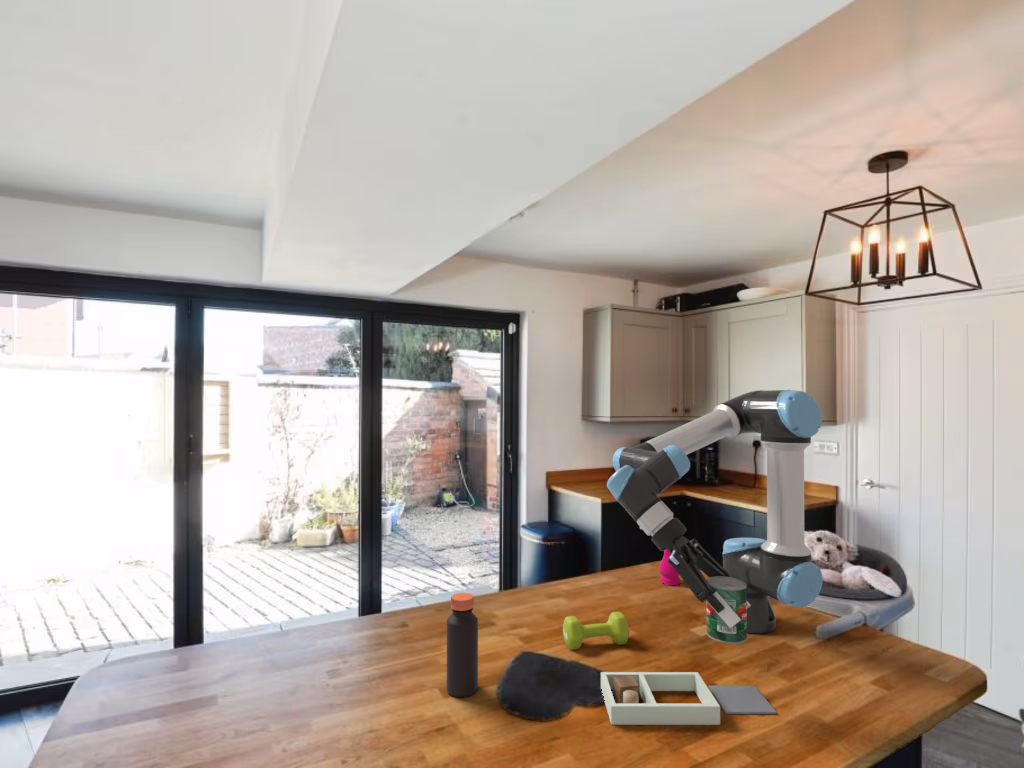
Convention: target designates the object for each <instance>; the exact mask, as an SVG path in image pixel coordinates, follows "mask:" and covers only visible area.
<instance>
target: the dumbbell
mask: <svg viewBox="0 0 1024 768" xmlns="http://www.w3.org/2000/svg"><path fill="white" fill-rule="evenodd" d="M608 616H609V617H608V620H607V622H605V623H603V622H601V623H591V624H582V623H581V622H580V620H579V619H578V618H577V617H576V616H574V615H567V616H566V617H565V618H564V620H563V624H562V635H563V640H564V643H565V644H566V646H567V648H568V649H570V650H571V651H574V650H579V649H580V647H581V646H582V644H583V641H584V639H587V638H596V637H605V636H607V637H610V639H611V641H613V642H614V643H615V645H618V646H619V645H625V644H627V642H628V639H629V637H630V629H629V623H628V619H627V617H626V616H625V615H624V614H623V613H622V612H620V611H612V612H611V613H610V614H609V615H608Z"/></svg>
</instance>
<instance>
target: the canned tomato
mask: <svg viewBox="0 0 1024 768" xmlns="http://www.w3.org/2000/svg"><path fill="white" fill-rule="evenodd" d="M705 579H706V580H707V582H708V584H709V585H710V587H711V588H712V590H713V592H714V593H715V592H716V591H717V593H718V594H719V595H720V596H721V597H722V598H723V599H724V601H725V602H726V603H727V604H728V605H729V606H730V607H731V609H732V610H733V611H734V612H735V613H736V614H737V615H738V617H739V618H740V619H741V620H740V621H739V622H738V623H736V624H735V625H734V626H732V627H731V628H729V626H728V625H727V624H726V623H725V622H724V621H723V619H722V618H721V617H720V616H719V615H718V614H717V612H716V611H715V610H714V609H713V608H712V607H711V605H710V604H709V603H708V602H707V601H706V600H705V602H706V603H705V604H706V605H705V607H706V609H705V610H706V611H705V613H706V632H705V633H706V636H708V638H710V639H711V640H714V641H716V642H719V643H722V644H727V645H728V644H729V645H738V644H742V643H743V644H744V643H746V641H747V640H748V632H747V601H746V599H747V598H746V595H747V594H746V587H747V585H746V583H745V582H743V581H742V580H739V579H736V578H732V577H724V576H715V577H710V578H709V577H707V578H705Z"/></svg>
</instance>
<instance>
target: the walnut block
mask: <svg viewBox="0 0 1024 768" xmlns="http://www.w3.org/2000/svg"><path fill="white" fill-rule="evenodd" d="M626 690H633V691H636V692H637V693H638V703H639V702H640V700H639V695H640V693H639V685H638V684H637V683H636V681H635V680H634V679H633V677H632V676H622V677H613V691H612V694H613V695H614V696H613V697H615V698H614V700H615V702H616V703H623V692H624V691H626Z"/></svg>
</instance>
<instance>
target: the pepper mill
mask: <svg viewBox="0 0 1024 768" xmlns="http://www.w3.org/2000/svg"><path fill="white" fill-rule="evenodd" d="M670 556H671V554H670V552H669V551H668V549H666V550H664V551H663V557H662V560H661V561H660V562H659V563H660V564H659V566H658V570H659V573H660V574H661V576H660V583H661V582H662V583H664V584H663V585H665V584H668V585H667V586H669V585H677V586H679V585H680V584H681V578H680V575H679V573H678V572H677V571H676V569H675V568H674V567H673V566H672V565H671V564H670V563H669V562H668V561H667V559H668V558H669V557H670ZM662 583H661V584H662ZM678 584H679V585H678Z"/></svg>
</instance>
